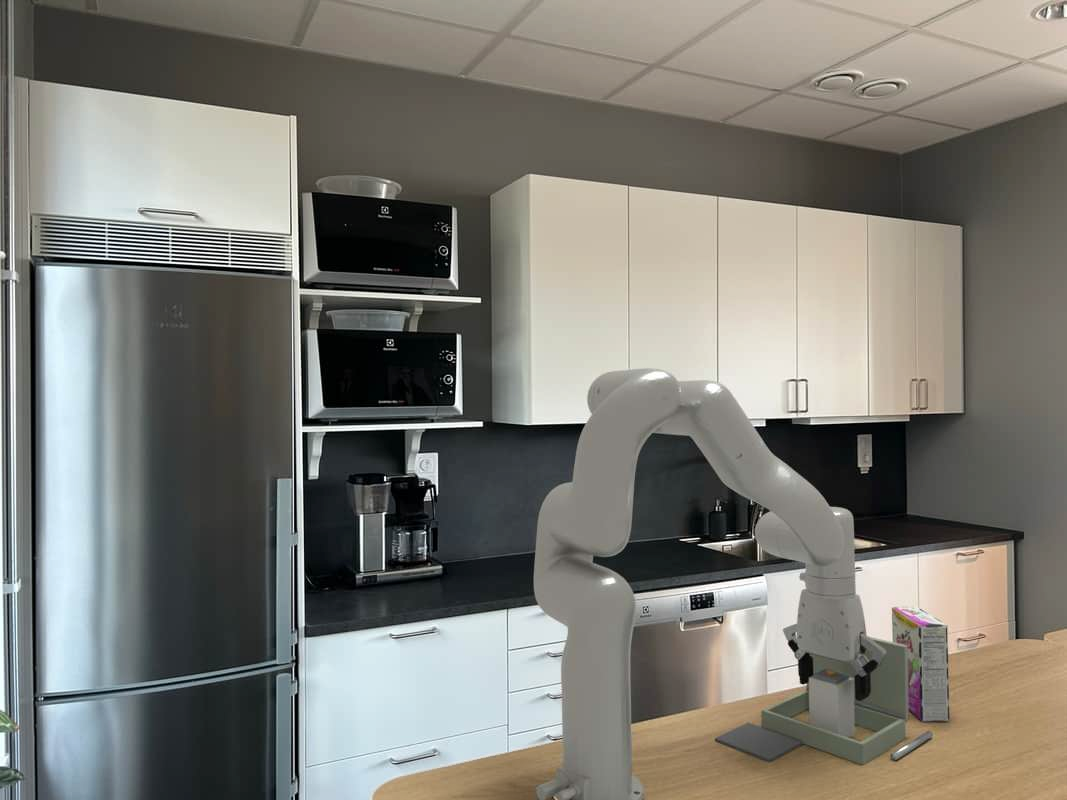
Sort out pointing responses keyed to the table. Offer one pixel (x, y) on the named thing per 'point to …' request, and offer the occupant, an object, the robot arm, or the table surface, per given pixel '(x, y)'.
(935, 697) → the candy bar box
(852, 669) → the case
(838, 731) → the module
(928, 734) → the rod
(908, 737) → the table surface
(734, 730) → the mat
